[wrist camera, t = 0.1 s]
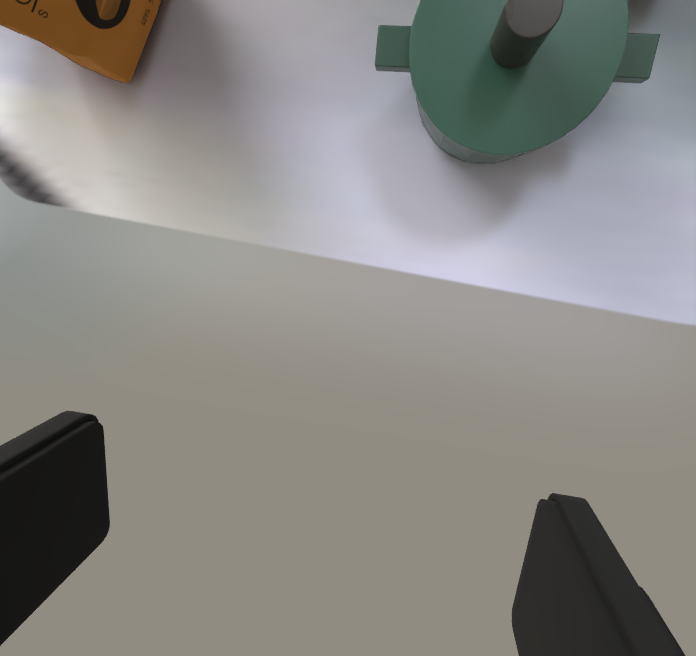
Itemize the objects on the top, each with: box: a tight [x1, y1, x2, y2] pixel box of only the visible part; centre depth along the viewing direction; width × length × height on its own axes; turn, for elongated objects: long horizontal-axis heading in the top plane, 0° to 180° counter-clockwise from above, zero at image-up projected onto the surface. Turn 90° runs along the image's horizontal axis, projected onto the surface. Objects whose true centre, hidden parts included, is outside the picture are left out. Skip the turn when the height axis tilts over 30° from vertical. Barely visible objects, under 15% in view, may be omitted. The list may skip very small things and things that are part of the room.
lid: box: [409, 0, 629, 156], centre depth 24 cm, size 13×13×6 cm
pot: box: [375, 25, 660, 164], centre depth 30 cm, size 12×17×8 cm
